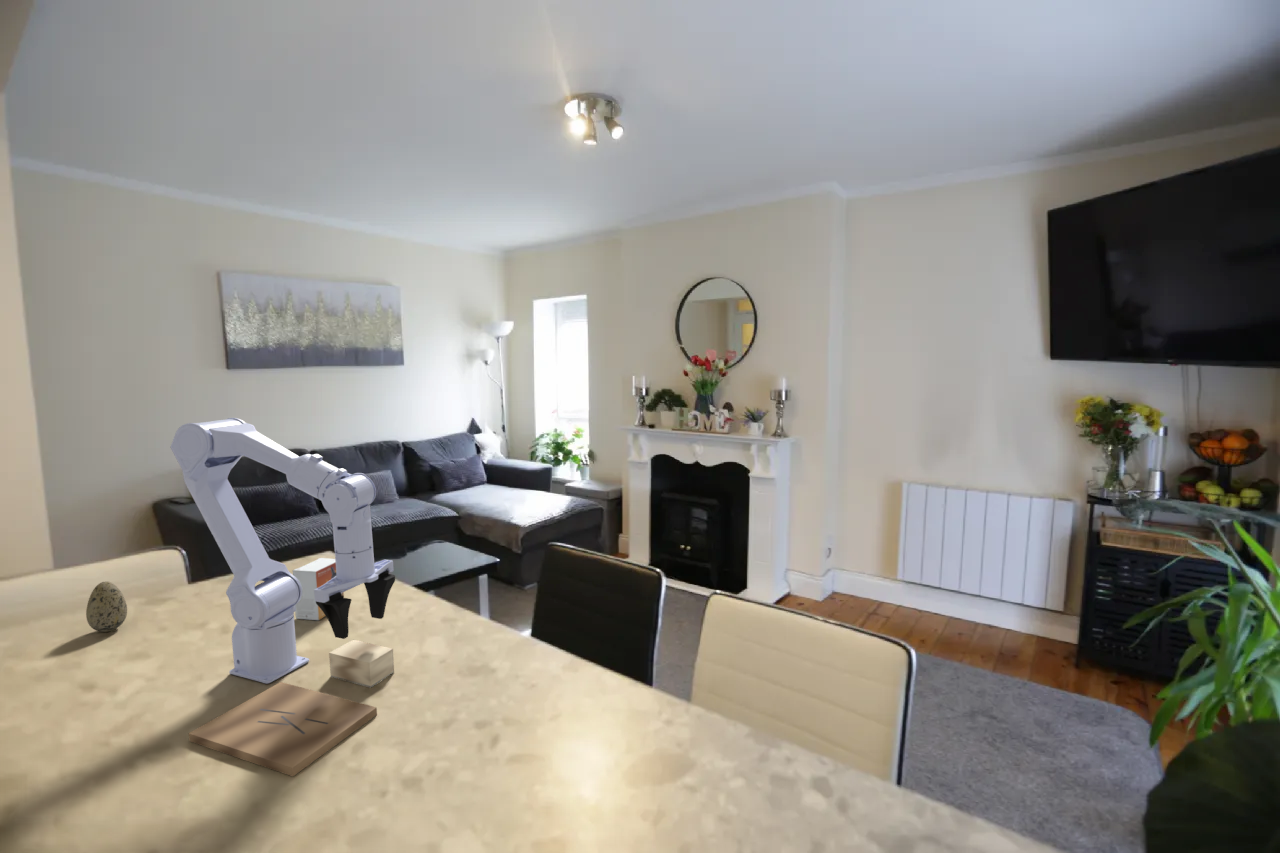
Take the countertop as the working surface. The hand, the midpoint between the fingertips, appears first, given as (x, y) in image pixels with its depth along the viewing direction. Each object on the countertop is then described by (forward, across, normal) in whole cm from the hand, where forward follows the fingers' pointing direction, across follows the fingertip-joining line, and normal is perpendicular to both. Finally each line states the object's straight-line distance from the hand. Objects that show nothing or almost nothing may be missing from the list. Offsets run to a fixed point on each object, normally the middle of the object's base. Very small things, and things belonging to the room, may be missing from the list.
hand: (360, 626), depth 98 cm
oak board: (+8, -15, -1) cm, 17 cm away
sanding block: (+9, 0, 0) cm, 9 cm away
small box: (+8, +16, +28) cm, 34 cm away
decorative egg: (+8, -5, +60) cm, 61 cm away
